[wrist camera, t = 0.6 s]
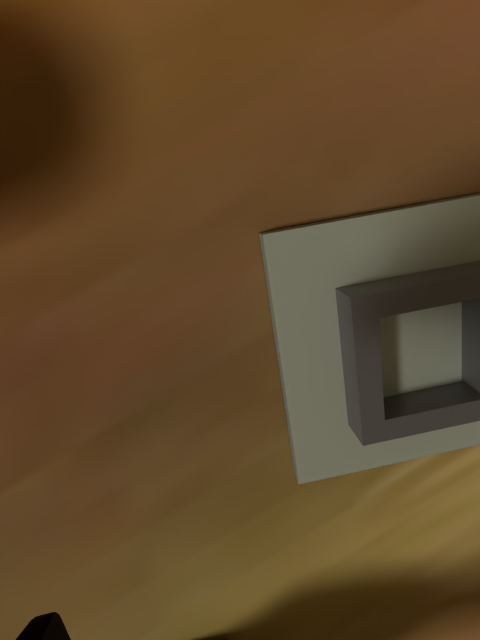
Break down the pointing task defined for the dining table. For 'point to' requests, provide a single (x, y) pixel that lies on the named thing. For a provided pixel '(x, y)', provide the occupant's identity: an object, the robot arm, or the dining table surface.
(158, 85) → the dining table surface
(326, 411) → the end holder
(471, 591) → the dining table surface
